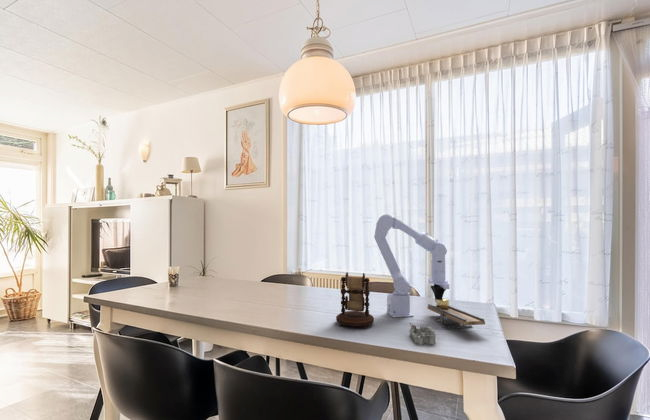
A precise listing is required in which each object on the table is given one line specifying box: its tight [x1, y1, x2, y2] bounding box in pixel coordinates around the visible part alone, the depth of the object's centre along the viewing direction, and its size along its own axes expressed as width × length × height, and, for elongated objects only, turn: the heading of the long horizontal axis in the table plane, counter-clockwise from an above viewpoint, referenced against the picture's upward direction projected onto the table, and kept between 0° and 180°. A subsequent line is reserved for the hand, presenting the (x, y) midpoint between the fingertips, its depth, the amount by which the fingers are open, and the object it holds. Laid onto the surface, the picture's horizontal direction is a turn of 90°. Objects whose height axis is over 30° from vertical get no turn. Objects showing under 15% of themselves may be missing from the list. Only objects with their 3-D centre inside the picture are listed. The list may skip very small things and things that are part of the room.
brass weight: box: [435, 298, 450, 310], centre depth 134 cm, size 5×5×4 cm
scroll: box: [335, 272, 375, 329], centre depth 127 cm, size 15×15×20 cm
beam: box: [427, 303, 486, 326], centre depth 126 cm, size 8×28×2 cm, turn 8°
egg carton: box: [409, 322, 437, 345], centre depth 110 cm, size 11×8×4 cm
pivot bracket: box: [434, 313, 473, 330], centre depth 126 cm, size 11×8×4 cm
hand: (438, 302), depth 138 cm, fingers closed
